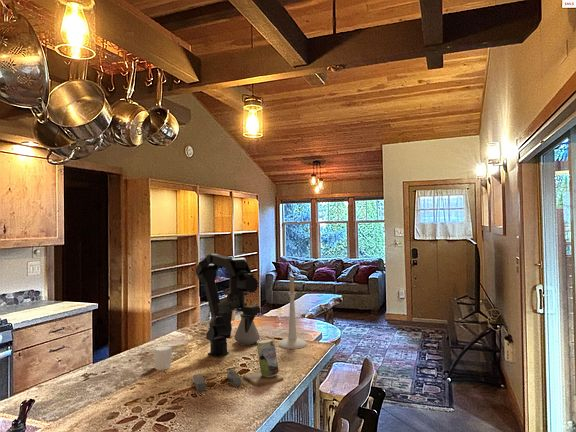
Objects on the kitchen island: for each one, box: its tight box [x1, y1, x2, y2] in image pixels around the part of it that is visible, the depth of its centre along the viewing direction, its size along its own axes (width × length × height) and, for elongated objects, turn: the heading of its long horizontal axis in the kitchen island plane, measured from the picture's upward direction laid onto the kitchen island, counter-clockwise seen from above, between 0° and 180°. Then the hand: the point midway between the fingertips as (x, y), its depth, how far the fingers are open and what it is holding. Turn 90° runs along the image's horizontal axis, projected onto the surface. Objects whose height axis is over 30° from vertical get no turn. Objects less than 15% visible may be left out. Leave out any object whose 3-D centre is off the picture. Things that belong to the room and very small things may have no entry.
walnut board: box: [242, 370, 284, 387], centre depth 135 cm, size 10×10×1 cm
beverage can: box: [256, 338, 280, 377], centre depth 136 cm, size 6×7×12 cm
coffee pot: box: [234, 303, 261, 346], centre depth 185 cm, size 21×12×15 cm, turn 167°
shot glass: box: [153, 345, 173, 371], centre depth 148 cm, size 7×7×7 cm
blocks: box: [193, 368, 242, 393], centre depth 131 cm, size 9×14×2 cm, turn 112°
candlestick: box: [277, 277, 308, 350], centre depth 177 cm, size 13×13×30 cm
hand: (237, 331), depth 153 cm, fingers open, 9 cm apart
